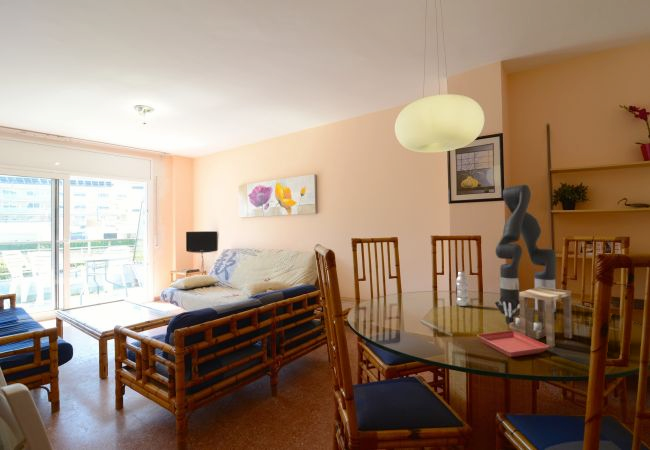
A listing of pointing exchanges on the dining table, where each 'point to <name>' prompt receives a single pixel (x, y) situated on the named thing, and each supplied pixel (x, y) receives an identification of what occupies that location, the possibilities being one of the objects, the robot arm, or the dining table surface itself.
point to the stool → (549, 296)
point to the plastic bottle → (462, 289)
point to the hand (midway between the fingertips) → (509, 324)
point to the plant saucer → (512, 343)
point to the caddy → (530, 325)
